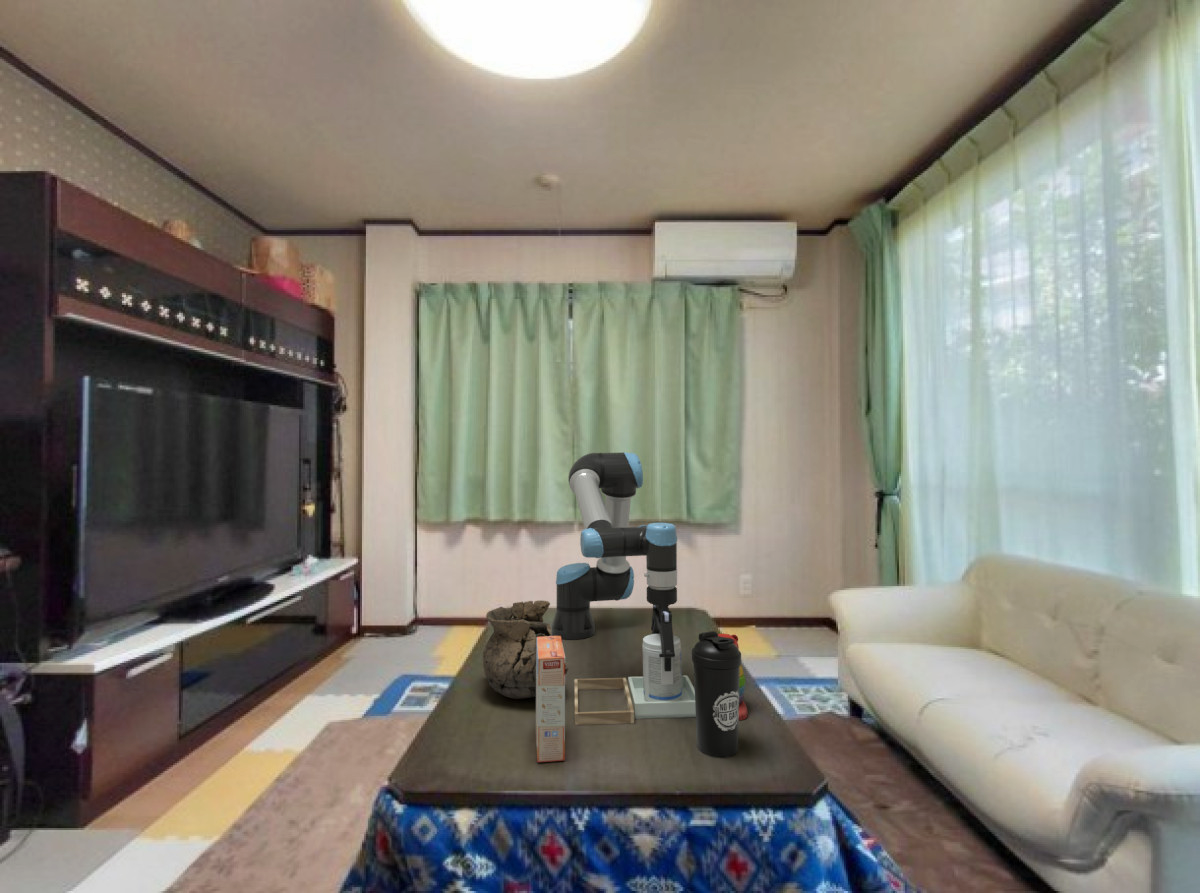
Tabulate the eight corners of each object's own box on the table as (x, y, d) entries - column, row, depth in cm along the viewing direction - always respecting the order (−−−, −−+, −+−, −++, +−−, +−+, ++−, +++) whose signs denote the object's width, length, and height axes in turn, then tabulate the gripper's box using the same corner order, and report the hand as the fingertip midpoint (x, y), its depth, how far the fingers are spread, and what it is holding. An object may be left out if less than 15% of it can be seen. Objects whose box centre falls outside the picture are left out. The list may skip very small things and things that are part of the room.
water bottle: (711, 764, 108) (710, 647, 108) (683, 740, 117) (682, 632, 118) (752, 753, 112) (751, 640, 112) (722, 730, 121) (721, 626, 122)
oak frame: (574, 688, 144) (574, 679, 144) (625, 687, 144) (625, 677, 144) (574, 725, 124) (574, 713, 124) (634, 723, 125) (634, 712, 125)
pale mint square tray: (628, 690, 142) (628, 676, 142) (687, 688, 143) (687, 675, 143) (635, 718, 127) (634, 703, 127) (701, 716, 128) (701, 701, 128)
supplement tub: (690, 700, 134) (689, 640, 134) (660, 711, 129) (659, 648, 129) (664, 687, 142) (663, 630, 143) (635, 696, 137) (634, 637, 137)
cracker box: (566, 761, 109) (566, 656, 110) (536, 764, 108) (535, 658, 109) (562, 727, 123) (562, 634, 123) (535, 729, 122) (535, 635, 123)
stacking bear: (698, 714, 129) (697, 638, 129) (706, 696, 138) (705, 626, 139) (745, 722, 125) (744, 643, 125) (750, 703, 134) (749, 630, 135)
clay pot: (487, 673, 154) (487, 597, 155) (571, 672, 155) (570, 596, 155) (467, 714, 129) (466, 623, 130) (566, 713, 130) (566, 622, 130)
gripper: (640, 575, 148) (641, 654, 147) (654, 599, 123) (654, 694, 123) (667, 574, 148) (668, 653, 148) (687, 599, 123) (688, 693, 123)
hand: (662, 672), depth 135 cm, fingers open, 13 cm apart
